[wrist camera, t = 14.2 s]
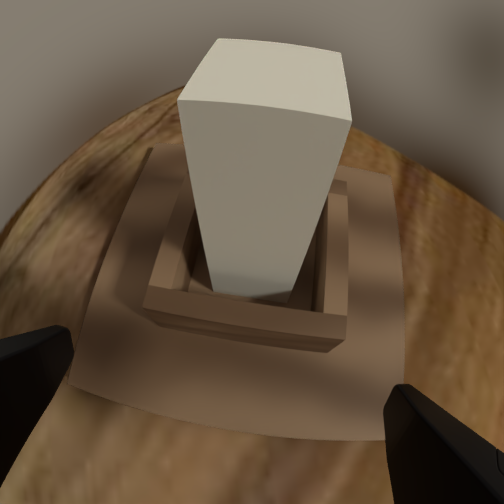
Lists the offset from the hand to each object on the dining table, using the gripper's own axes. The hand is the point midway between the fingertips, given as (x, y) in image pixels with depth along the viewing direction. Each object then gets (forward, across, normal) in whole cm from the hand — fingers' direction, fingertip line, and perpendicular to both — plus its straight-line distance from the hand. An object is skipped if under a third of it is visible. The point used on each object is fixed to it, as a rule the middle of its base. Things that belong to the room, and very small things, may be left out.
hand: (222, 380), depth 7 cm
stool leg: (+12, 0, +1) cm, 12 cm away
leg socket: (+13, 0, +2) cm, 13 cm away
